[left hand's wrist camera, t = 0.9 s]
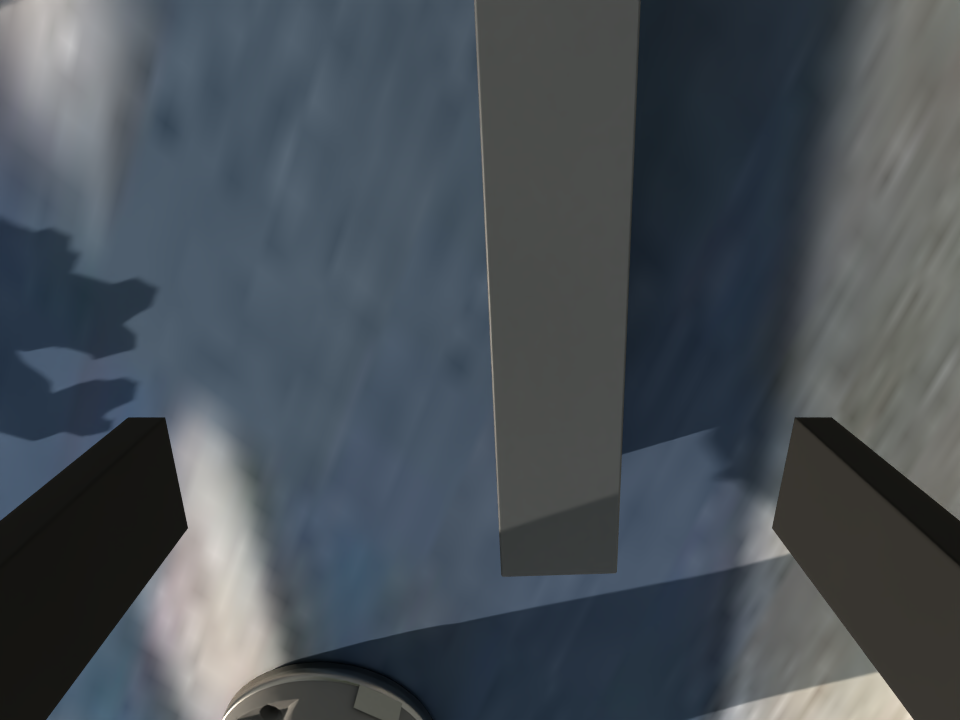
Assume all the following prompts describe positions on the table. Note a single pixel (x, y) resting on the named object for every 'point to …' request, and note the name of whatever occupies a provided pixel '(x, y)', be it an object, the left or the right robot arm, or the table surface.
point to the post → (558, 270)
